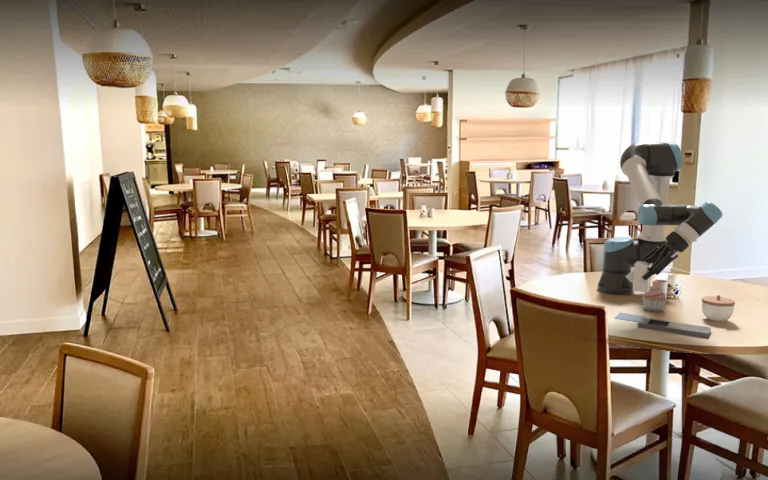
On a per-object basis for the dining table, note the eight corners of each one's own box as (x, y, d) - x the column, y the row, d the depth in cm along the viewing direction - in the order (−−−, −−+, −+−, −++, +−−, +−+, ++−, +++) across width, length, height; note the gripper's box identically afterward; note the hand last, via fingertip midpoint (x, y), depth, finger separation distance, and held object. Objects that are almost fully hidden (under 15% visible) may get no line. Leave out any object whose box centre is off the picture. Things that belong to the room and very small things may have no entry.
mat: (614, 319, 229) (614, 318, 229) (620, 313, 237) (620, 312, 237) (640, 323, 224) (640, 322, 224) (645, 317, 232) (645, 316, 232)
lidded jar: (694, 316, 234) (696, 292, 232) (721, 315, 235) (723, 291, 233) (711, 324, 223) (713, 299, 222) (739, 324, 224) (742, 298, 223)
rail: (637, 328, 219) (638, 322, 218) (642, 322, 225) (642, 317, 225) (707, 339, 207) (708, 333, 206) (710, 333, 213) (710, 327, 213)
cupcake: (667, 314, 237) (669, 288, 235) (641, 311, 240) (642, 286, 238) (665, 307, 245) (667, 283, 244) (640, 305, 248) (642, 281, 247)
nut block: (632, 290, 224) (634, 263, 222) (635, 287, 228) (637, 261, 226) (647, 292, 221) (649, 265, 219) (649, 289, 225) (652, 262, 224)
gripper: (701, 250, 211) (649, 296, 215) (677, 240, 231) (629, 282, 234) (686, 235, 211) (634, 281, 214) (663, 226, 230) (616, 268, 234)
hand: (631, 281), depth 224 cm, fingers closed on nut block, 7 cm apart
